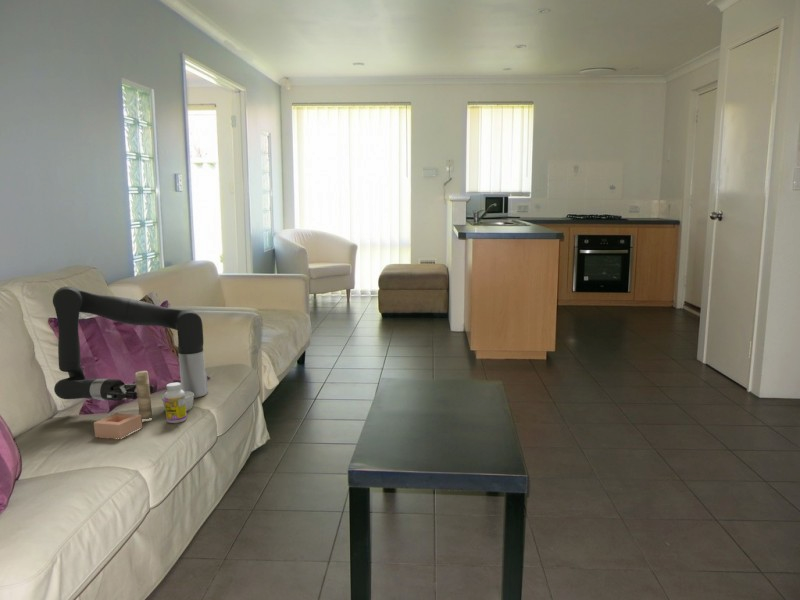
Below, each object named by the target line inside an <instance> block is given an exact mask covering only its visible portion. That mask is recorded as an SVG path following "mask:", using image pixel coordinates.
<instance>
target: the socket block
mask: <svg viewBox="0 0 800 600" xmlns="http://www.w3.org/2000/svg"><path fill="white" fill-rule="evenodd" d="M93 427H94V428H93V429H94V437H95V438H98V437H99V438H101V439H109V438H117V439H116V440H119V439H121V438H122V437H124V436H126V435H128V434H129V433H131V432H133V431H135V430H137V429H139V428H141V427H142V428H143V422H142V420H141V415H139V414H130V413H119V412H116V413H114V414H110V415H109V416H107V417H104V418H102V419H99V420H97V421H94V422H93ZM99 438H98V439H99ZM118 438H119V439H118ZM121 440H122V439H121Z"/></svg>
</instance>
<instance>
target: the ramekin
mask: <svg viewBox="0 0 800 600" xmlns="http://www.w3.org/2000/svg"><path fill="white" fill-rule="evenodd" d="M184 392H185V402H186V412H188V411H190V410H192V408H193V407H194V399H195V398H194V393H193V392H190V391H184ZM164 395H165V394H163V395H162V396H161V401H162V403H163V407H164V409H165V398H164Z"/></svg>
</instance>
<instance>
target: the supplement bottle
mask: <svg viewBox="0 0 800 600" xmlns="http://www.w3.org/2000/svg"><path fill="white" fill-rule="evenodd" d="M166 390H167V391H166V392H165V393H164V394H163V395H164V398H165V408H164V411H165V417H166V418H165V420H166V422H167V423H169V424H178V423H182V422H184V421H186V420H187V418H188V415H187V411H186V402H185V392H184V391H183V390H182V389H181V382H178V381H177V382H176V381H175V382H169V383H168V384H166Z"/></svg>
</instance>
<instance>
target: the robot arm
mask: <svg viewBox="0 0 800 600" xmlns="http://www.w3.org/2000/svg"><path fill="white" fill-rule="evenodd" d="M52 305H53V307H54V309H55V316H56V319H57V324H58V325H57V327H58V341H57V342H58V343H57V344H58V345H57V346H58V348H57V350H58V351H57V353H58V355H57V356H58V358H57V359H58V369H59V371H60V372H63V373H68V376H69V377H67V378H62V379H60V380H59V381H57V382H56V383H55V384H54V389H53V390H54V394H55V395H56V396H57V397H58V398H59V399H62V400H79V399H91V400H99V401H107V402H121V401H123V400H130V399H131V400H138V394H137V384H136V381H133V382H132V383H125V382H124V381H123V380H121V379H117V378H116V379H114V378H113V379H112V378H86V376H85V374H84V370H83V368H82V367H83V366H82V365H81V364H82V363H81V360H82V359H81V344H80V343H81V342H80V334H79V318H80V313H85V314H91V315H92V314H93V315H96V316H99V317H102V318H104V319H106V320H110V321H114V322H117V323H121V324H127V325H132V326H143V327H144V326H146V327H148V326H150V327H151V326H155V327H164V328H168V329H172V330H175V331H177V340H178V341H177V354H178V364H179V376H180V383H181V390H183V391H190V392H193V393H194V398H193V399H196V398H201V397H204V396H206V395H207V394H208V392H209V389H208V387H209V386H208V377H207V376H208V375H207V368H206V365H205V356H204V331H203V330H204V329H203V328H204V327H203V321H202V320H203V319H202V318H201V316H200V315H199V313H197V312H195V311H194V310H191V309H183V308H182V309H180V308H169V307H166V306H165V307H164V306H161V305H157V304H154V303H150V302H148V301H147V302H146V301H142V300H138V299H134V298H133V299H132V298H127V297H121V296H114V295H105V294H104V295H102V294H96V293H93V292H90V291H85V290H83V289H78V288H76V287H74V286H73V287H72V286H63V287H60V288H58V289H57V290H56V291H55V292H54V294H53V296H52ZM149 388H150V393H154V392H155V391H156V390H155V385H151V384H149Z"/></svg>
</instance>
